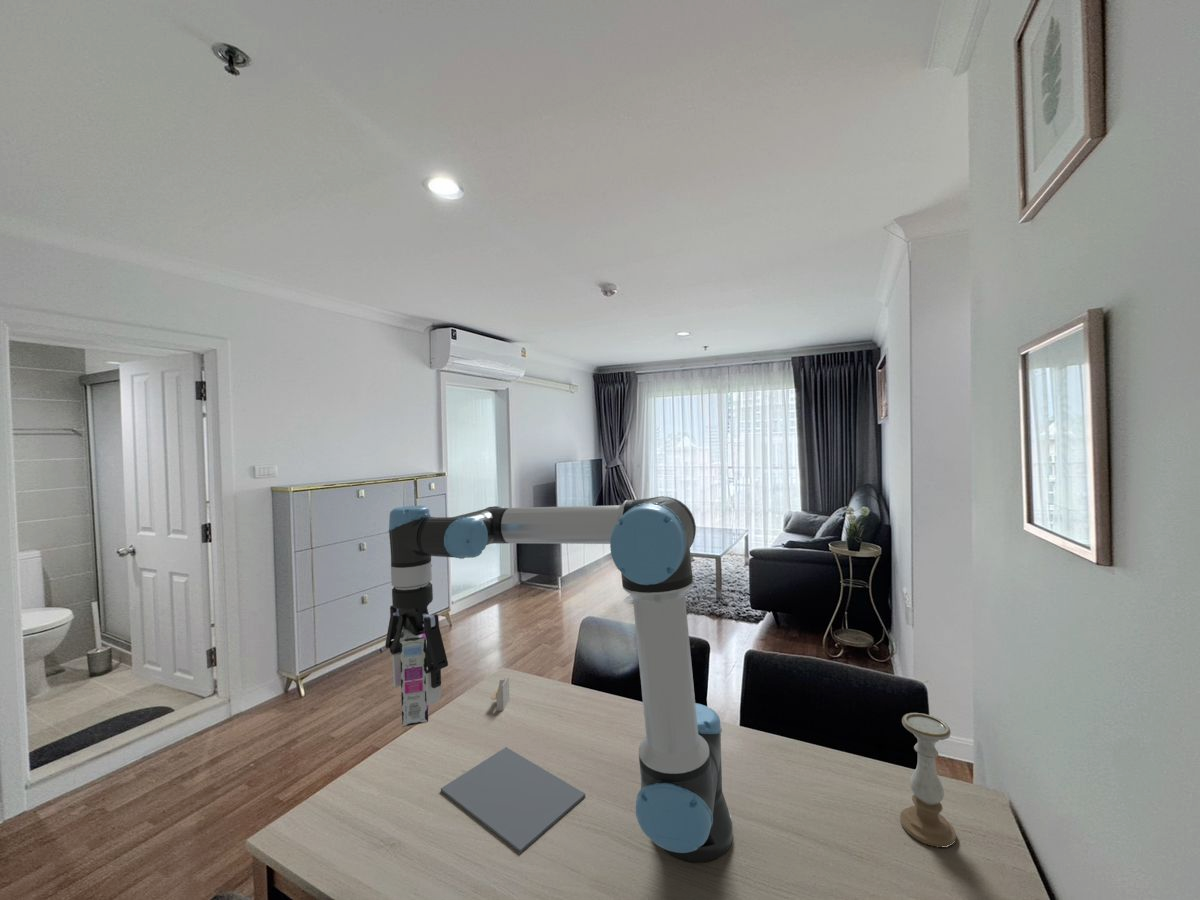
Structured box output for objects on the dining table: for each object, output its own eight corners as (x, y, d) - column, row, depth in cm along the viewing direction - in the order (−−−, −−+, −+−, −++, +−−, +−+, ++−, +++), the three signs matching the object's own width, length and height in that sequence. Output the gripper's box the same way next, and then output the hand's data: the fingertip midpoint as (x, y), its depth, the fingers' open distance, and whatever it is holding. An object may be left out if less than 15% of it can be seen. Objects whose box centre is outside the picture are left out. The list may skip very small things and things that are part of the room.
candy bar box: (430, 722, 93) (426, 637, 92) (401, 728, 91) (398, 641, 91) (431, 694, 103) (427, 617, 103) (405, 699, 102) (402, 621, 102)
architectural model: (491, 711, 138) (490, 685, 138) (499, 698, 145) (498, 673, 144) (503, 712, 137) (502, 685, 137) (510, 699, 144) (510, 674, 144)
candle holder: (889, 819, 95) (887, 716, 94) (921, 806, 98) (919, 706, 97) (934, 855, 86) (932, 742, 86) (967, 839, 90) (965, 730, 89)
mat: (585, 796, 103) (585, 793, 103) (520, 853, 89) (520, 849, 89) (505, 749, 120) (505, 746, 120) (440, 791, 106) (440, 788, 106)
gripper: (464, 589, 92) (469, 703, 93) (398, 571, 107) (403, 669, 108) (428, 600, 86) (433, 721, 87) (364, 579, 101) (369, 683, 102)
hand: (416, 693), depth 97 cm, fingers closed on candy bar box, 12 cm apart
